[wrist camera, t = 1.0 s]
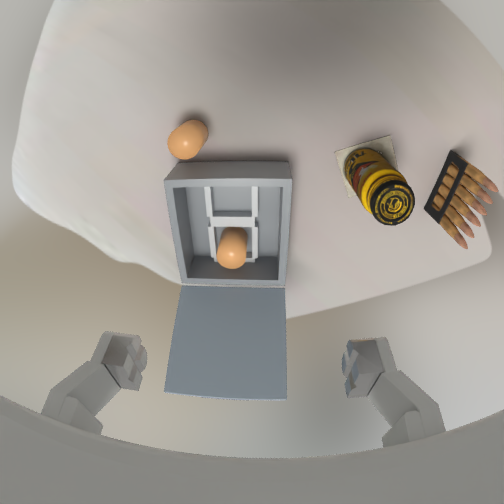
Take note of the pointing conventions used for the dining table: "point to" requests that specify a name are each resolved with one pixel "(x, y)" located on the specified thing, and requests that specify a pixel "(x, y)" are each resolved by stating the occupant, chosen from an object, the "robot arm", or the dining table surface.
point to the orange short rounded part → (232, 247)
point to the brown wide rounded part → (187, 139)
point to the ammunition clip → (458, 197)
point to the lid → (229, 344)
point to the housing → (230, 219)
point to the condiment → (376, 180)
